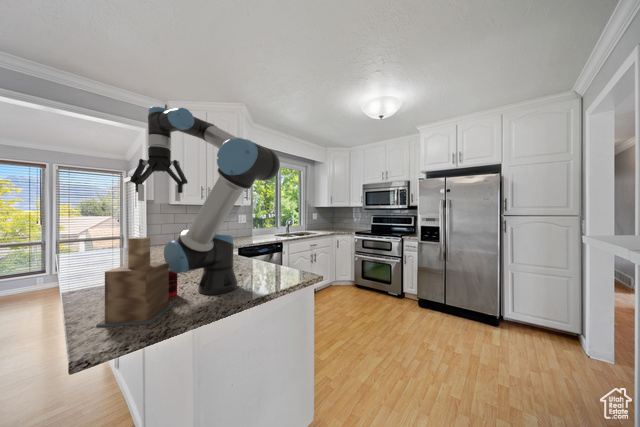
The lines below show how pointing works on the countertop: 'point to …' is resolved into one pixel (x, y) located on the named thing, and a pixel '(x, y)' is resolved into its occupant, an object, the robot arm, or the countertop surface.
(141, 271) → the wooden stepped block
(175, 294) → the canned food
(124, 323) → the mat
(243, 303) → the countertop surface
